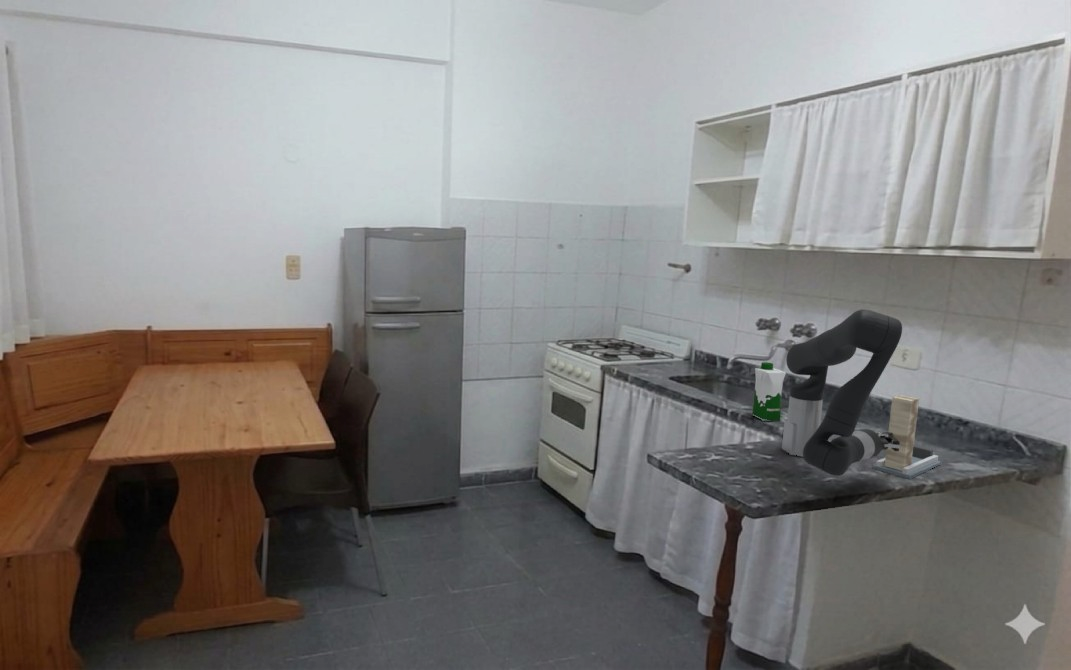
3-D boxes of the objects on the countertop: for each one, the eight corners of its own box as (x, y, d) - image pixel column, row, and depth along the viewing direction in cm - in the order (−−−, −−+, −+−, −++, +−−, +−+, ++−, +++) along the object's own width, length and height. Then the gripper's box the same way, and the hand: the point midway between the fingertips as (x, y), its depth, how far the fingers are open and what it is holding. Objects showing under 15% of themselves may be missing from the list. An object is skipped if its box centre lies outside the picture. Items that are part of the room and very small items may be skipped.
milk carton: (769, 414, 242) (773, 361, 239) (784, 421, 233) (789, 366, 230) (748, 415, 239) (752, 362, 236) (763, 422, 231) (768, 367, 228)
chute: (909, 479, 178) (911, 465, 178) (872, 468, 186) (874, 454, 186) (940, 464, 191) (942, 451, 191) (904, 455, 199) (906, 442, 198)
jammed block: (903, 471, 181) (911, 400, 178) (884, 465, 185) (892, 397, 182) (910, 467, 184) (919, 398, 181) (892, 462, 188) (900, 395, 185)
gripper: (887, 437, 161) (917, 428, 172) (835, 425, 172) (866, 417, 182) (884, 467, 162) (914, 455, 173) (832, 453, 173) (863, 443, 183)
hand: (889, 435), depth 178 cm, fingers closed
